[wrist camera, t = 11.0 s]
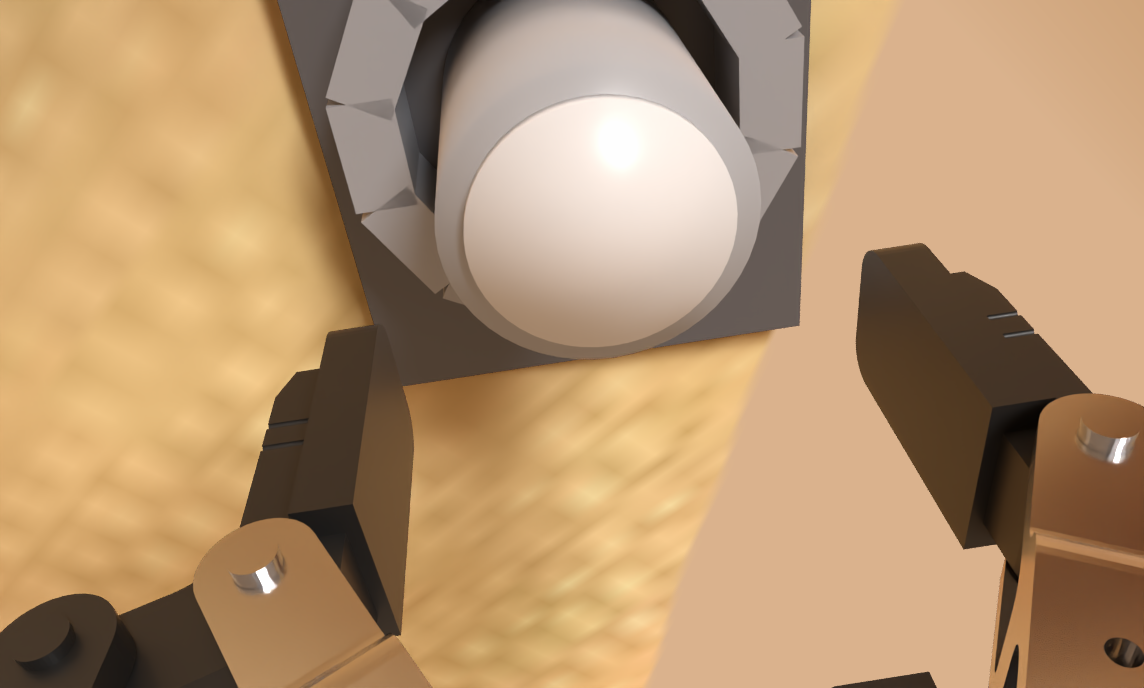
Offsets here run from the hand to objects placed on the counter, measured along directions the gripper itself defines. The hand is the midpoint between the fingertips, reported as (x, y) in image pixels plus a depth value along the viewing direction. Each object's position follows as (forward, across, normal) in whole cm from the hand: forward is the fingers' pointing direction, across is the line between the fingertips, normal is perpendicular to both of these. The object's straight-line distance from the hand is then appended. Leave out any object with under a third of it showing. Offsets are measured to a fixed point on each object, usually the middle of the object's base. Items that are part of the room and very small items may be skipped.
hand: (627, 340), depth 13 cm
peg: (+11, 0, 0) cm, 11 cm away
